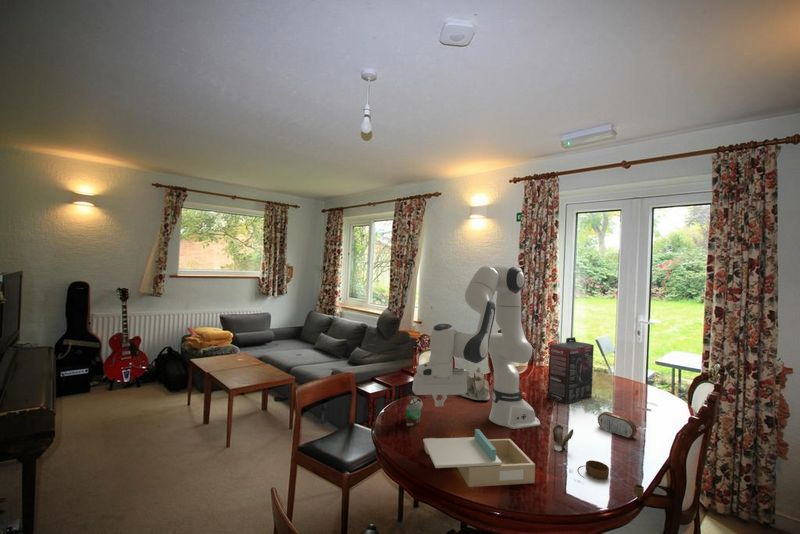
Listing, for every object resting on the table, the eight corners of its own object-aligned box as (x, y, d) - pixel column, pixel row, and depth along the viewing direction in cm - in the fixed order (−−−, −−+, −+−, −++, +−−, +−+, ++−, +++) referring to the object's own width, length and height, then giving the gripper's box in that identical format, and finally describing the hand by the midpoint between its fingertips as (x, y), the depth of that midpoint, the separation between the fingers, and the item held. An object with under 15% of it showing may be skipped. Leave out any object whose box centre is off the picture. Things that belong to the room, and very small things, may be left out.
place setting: (617, 473, 131) (617, 456, 131) (647, 509, 111) (648, 489, 111) (564, 467, 133) (565, 451, 133) (585, 502, 113) (586, 483, 113)
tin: (636, 440, 156) (637, 420, 156) (633, 442, 154) (634, 422, 154) (599, 427, 168) (600, 408, 168) (596, 429, 166) (597, 410, 166)
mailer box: (509, 457, 137) (510, 438, 137) (534, 486, 119) (535, 464, 119) (451, 460, 134) (452, 440, 134) (468, 490, 116) (469, 467, 116)
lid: (481, 439, 135) (481, 427, 135) (501, 464, 118) (502, 451, 118) (423, 441, 132) (423, 429, 132) (435, 468, 115) (436, 454, 115)
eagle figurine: (574, 450, 145) (575, 427, 145) (571, 458, 139) (572, 433, 139) (553, 444, 149) (554, 422, 149) (550, 452, 143) (551, 428, 143)
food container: (419, 430, 158) (420, 406, 158) (405, 428, 159) (406, 404, 159) (423, 418, 170) (424, 396, 170) (410, 417, 171) (411, 395, 171)
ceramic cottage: (458, 391, 211) (459, 364, 211) (488, 393, 208) (489, 366, 208) (459, 400, 195) (460, 372, 195) (491, 403, 193) (492, 374, 193)
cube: (435, 449, 141) (436, 437, 141) (438, 455, 137) (439, 443, 137) (424, 450, 141) (424, 438, 141) (426, 456, 136) (427, 443, 136)
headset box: (572, 390, 219) (574, 334, 219) (593, 397, 208) (595, 338, 208) (546, 397, 205) (548, 337, 205) (567, 405, 195) (569, 341, 195)
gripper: (464, 366, 142) (463, 402, 142) (412, 366, 139) (410, 403, 139) (470, 371, 136) (468, 408, 136) (416, 370, 133) (414, 409, 133)
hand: (439, 406), depth 137 cm, fingers closed
